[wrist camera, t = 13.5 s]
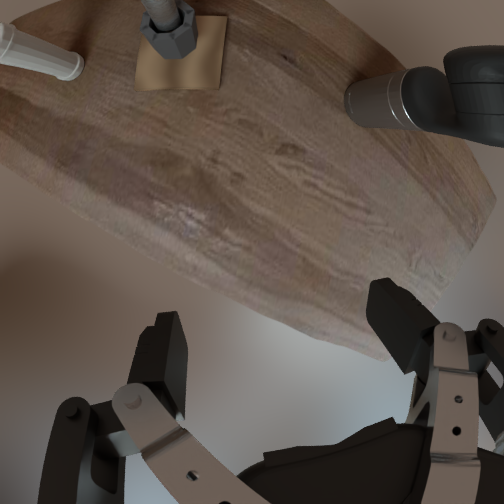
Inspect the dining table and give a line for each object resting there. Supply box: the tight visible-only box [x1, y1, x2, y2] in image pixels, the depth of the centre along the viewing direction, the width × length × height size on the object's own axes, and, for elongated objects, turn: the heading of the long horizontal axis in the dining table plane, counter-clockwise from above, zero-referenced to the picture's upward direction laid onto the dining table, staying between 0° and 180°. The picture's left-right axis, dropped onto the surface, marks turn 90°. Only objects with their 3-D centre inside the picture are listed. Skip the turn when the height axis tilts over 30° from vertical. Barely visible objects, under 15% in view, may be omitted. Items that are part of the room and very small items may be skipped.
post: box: [134, 0, 227, 91], centre depth 21 cm, size 14×14×32 cm
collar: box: [140, 0, 198, 59], centre depth 26 cm, size 6×6×9 cm
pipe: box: [0, 22, 84, 81], centre depth 19 cm, size 6×6×30 cm
